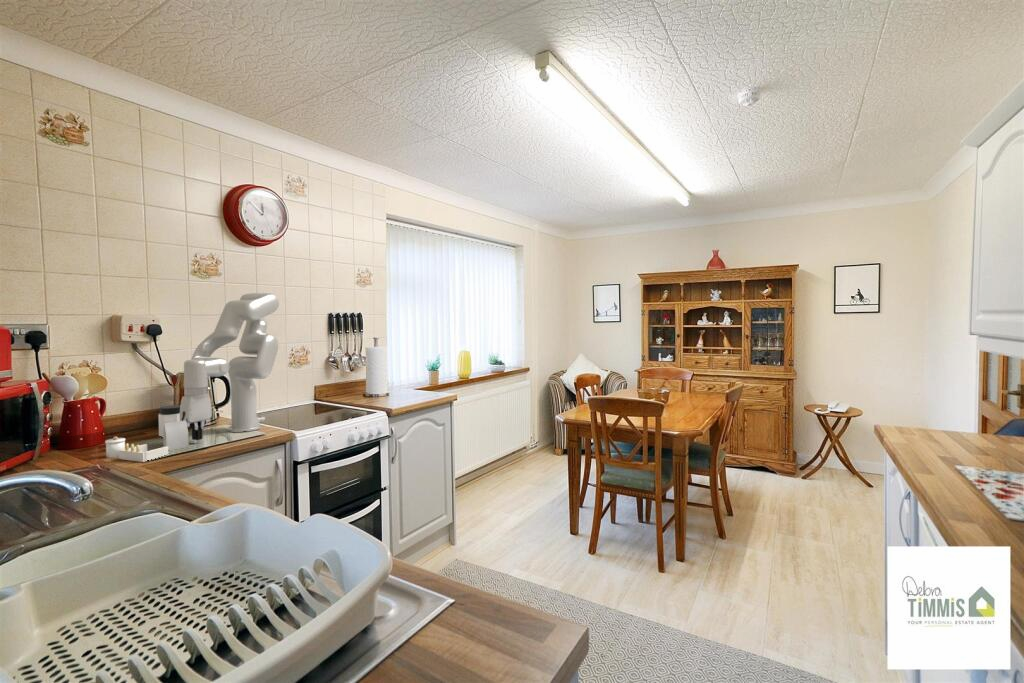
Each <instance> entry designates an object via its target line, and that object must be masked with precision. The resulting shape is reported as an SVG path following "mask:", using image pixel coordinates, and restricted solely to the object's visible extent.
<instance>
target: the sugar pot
mask: <svg viewBox="0 0 1024 683" xmlns="http://www.w3.org/2000/svg"><path fill="white" fill-rule="evenodd" d="M104 443H105V455H106V458H108V459H114V458H115V459H116V458H119V450H123V449H126V446H125V444H126V438H125V437H118V436H113V438H109V439H106V440H104Z"/></svg>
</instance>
